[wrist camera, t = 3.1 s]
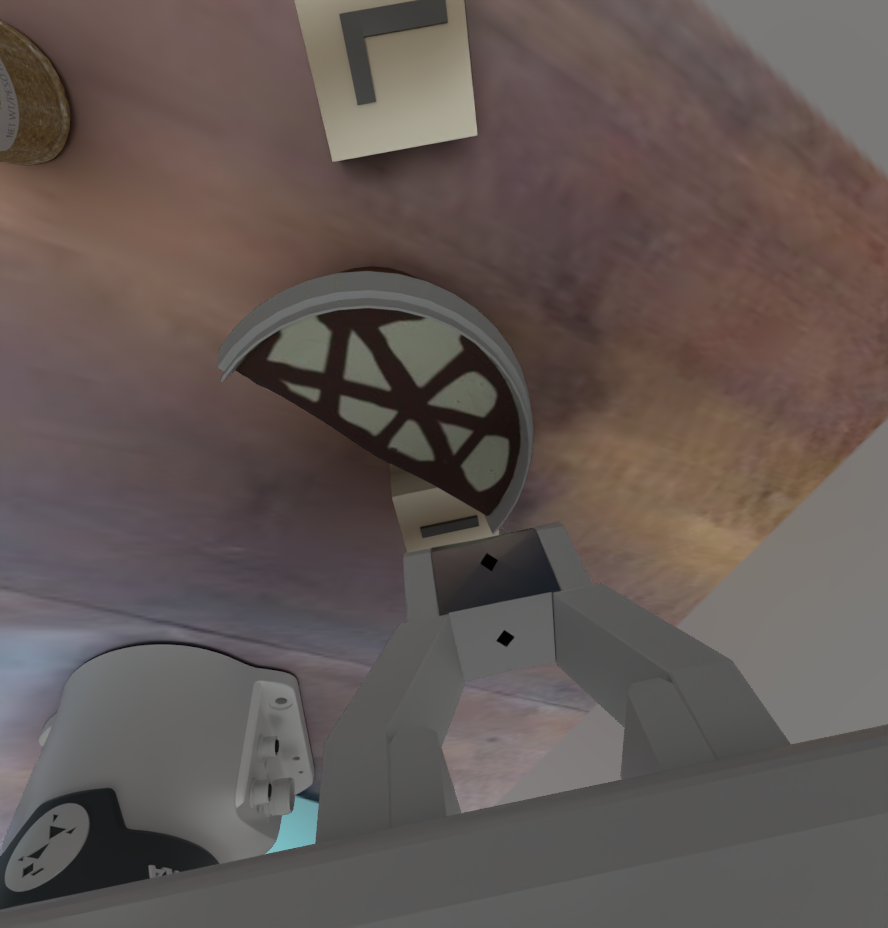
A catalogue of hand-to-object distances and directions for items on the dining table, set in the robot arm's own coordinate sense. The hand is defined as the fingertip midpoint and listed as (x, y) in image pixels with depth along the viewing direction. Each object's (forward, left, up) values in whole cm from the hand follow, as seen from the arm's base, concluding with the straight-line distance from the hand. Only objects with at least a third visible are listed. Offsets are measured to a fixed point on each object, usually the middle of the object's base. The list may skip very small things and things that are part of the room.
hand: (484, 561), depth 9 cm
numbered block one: (-10, 0, -18) cm, 20 cm away
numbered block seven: (+9, -1, -18) cm, 20 cm away
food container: (0, 0, -18) cm, 18 cm away
